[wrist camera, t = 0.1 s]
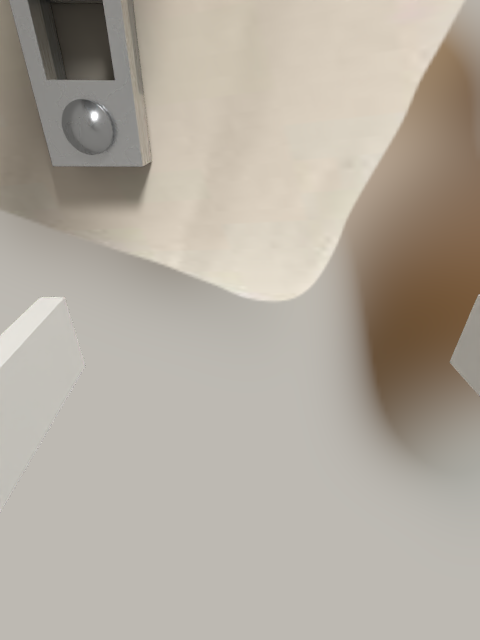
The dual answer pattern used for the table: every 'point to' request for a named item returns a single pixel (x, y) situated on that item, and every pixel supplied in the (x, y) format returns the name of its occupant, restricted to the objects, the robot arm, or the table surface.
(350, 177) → the table surface
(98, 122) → the metal block with stud
